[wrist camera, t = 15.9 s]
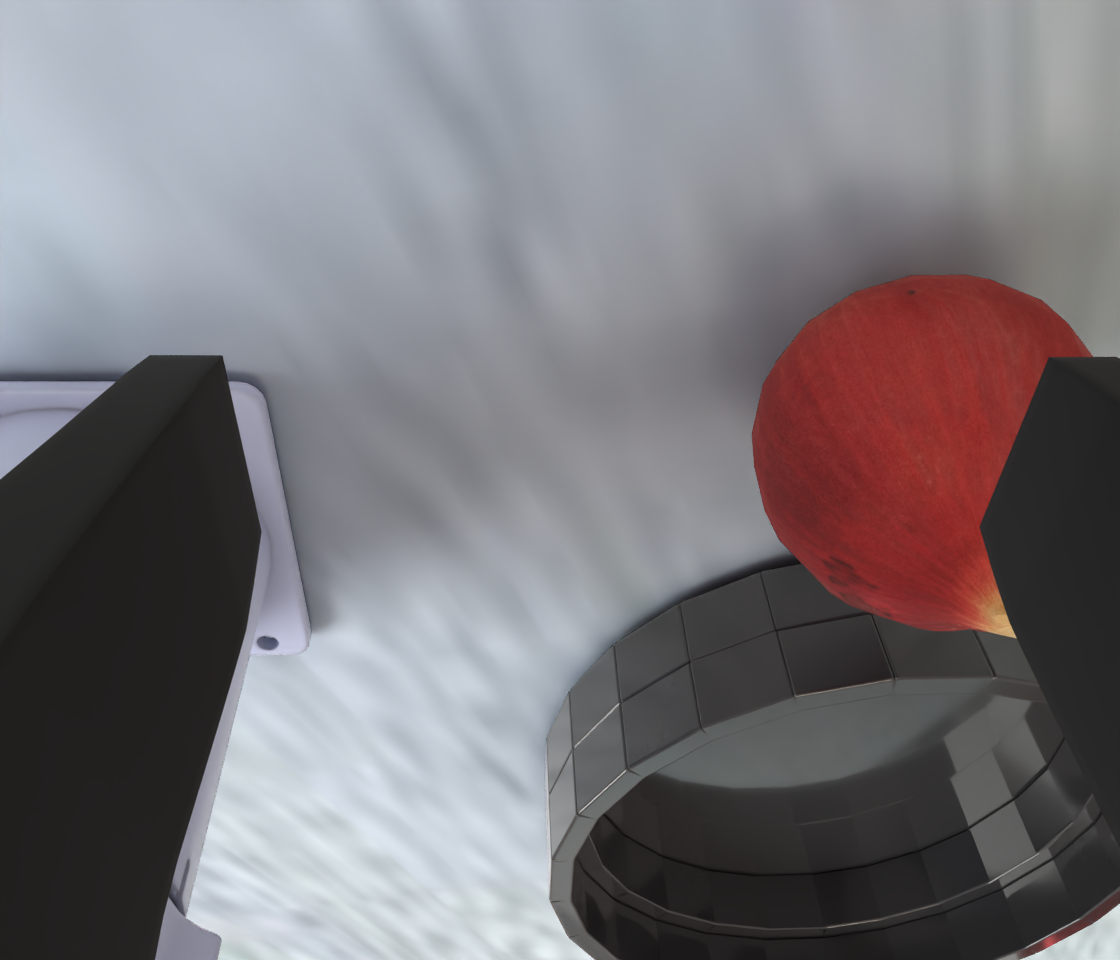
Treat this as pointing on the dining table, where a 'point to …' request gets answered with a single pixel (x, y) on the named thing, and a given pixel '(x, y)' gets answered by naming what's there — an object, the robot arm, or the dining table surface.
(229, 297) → the dining table surface
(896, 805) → the pan
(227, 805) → the dining table surface
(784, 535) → the onion
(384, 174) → the dining table surface
